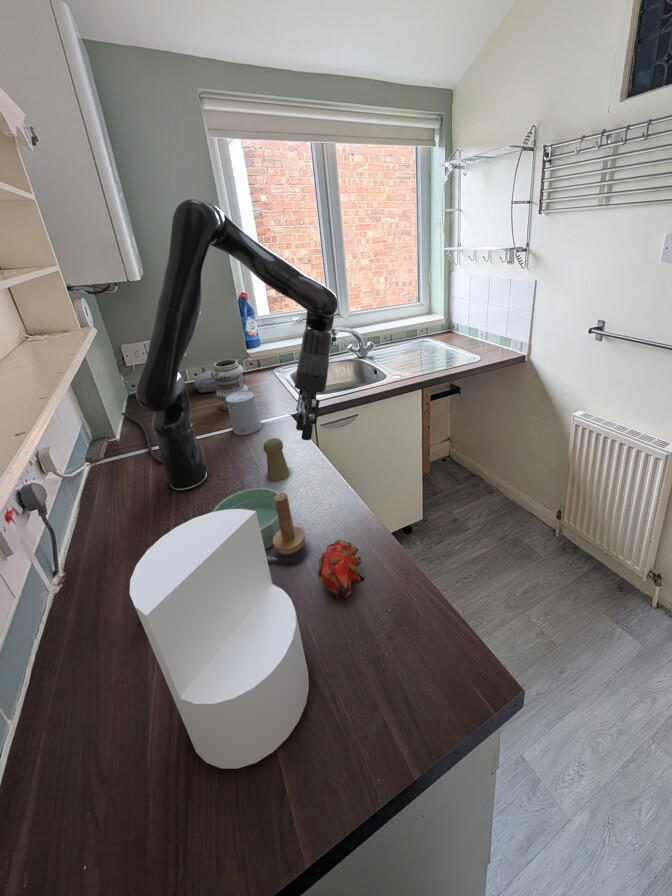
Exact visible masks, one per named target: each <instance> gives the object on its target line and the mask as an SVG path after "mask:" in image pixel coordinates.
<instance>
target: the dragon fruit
mask: <svg viewBox="0 0 672 896" xmlns="http://www.w3.org/2000/svg"><path fill="white" fill-rule="evenodd" d="M325 549H326V550H325V552H323V553H322V554H321V557H319V558H318V571H317V577H318V579H319V580H320V582H321V583H322V585H323V586H324V587H325V589H326V590H327V591H329V592H331V593H333V594H334V595H335V596H336V598H341V596H343V597H344V598H347V597H348V596H350V595H351V594H352V593H353V590H352V589H353V588H352V582H355V583H357V584H359V583H361V582H364V581H365V579H366V576H367V575H366V573H363V574H362V575H361V573H360V572H359V571H358V570H357V567H358V566H359V565H361V564H362V563H363V559H362V557H360V556H358V557H356V555H357V554H358V551H359V549H358V547H357V546H353V544H352V543H351V542H349V541H345V540H342V539H340V540H339V539H336V540H335V541H334V542H333V543H331V544H328V545H327V546H326V547H325Z"/></svg>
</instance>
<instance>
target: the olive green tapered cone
mask: <svg viewBox="0 0 672 896" xmlns="http://www.w3.org/2000/svg"><path fill="white" fill-rule="evenodd" d="M262 449H263V451H264V453H265V454H266V464H267V465H266V466H267V467H266V468H267V469H266V470H267V479H268V480H269V481H272V482H278V481H282V480H285V479H286V478H288V477H289V475H290V469H289V467H288V463H287V461H286V458H285V455H284V452H283V449H284V443H283V441H282V440H281V439H280V438H278V437H272V438H269V439H267V440H265V441H264V443H263V447H262Z"/></svg>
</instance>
